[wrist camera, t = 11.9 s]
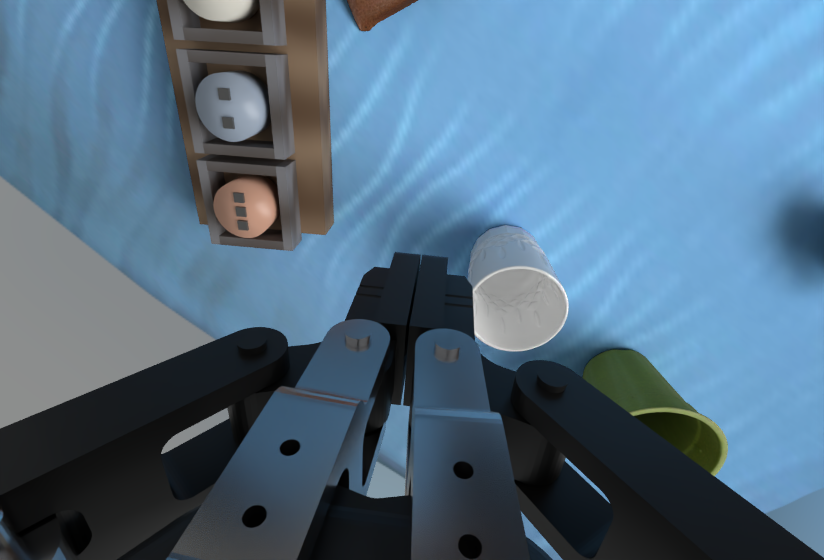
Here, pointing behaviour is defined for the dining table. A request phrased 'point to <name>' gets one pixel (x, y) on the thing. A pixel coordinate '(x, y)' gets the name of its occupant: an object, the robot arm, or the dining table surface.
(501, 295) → the white cup
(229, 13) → the button one
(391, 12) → the sunglasses case
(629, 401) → the plant pot
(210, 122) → the button two
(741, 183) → the dining table surface
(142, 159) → the dining table surface
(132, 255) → the dining table surface
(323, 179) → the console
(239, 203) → the button three
